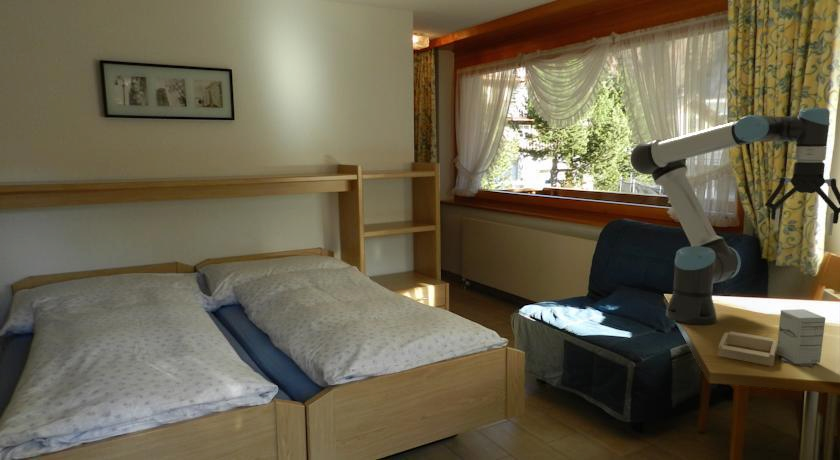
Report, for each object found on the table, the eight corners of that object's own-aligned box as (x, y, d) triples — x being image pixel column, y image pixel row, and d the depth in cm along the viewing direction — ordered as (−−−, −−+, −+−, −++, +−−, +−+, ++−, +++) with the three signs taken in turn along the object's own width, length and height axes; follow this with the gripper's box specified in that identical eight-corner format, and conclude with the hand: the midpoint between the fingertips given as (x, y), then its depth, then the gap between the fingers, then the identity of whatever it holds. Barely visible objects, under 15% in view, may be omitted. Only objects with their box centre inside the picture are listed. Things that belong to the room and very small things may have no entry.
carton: (716, 357, 154) (717, 347, 153) (725, 340, 167) (726, 330, 167) (772, 368, 146) (773, 357, 146) (776, 349, 160) (777, 339, 159)
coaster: (780, 361, 151) (781, 359, 151) (782, 353, 157) (782, 351, 157) (812, 367, 147) (813, 365, 147) (813, 359, 153) (813, 357, 153)
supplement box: (775, 353, 155) (779, 309, 153) (800, 353, 156) (805, 308, 154) (794, 364, 148) (799, 317, 146) (821, 363, 148) (826, 316, 146)
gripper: (759, 161, 172) (753, 229, 175) (862, 162, 157) (853, 238, 160) (762, 160, 178) (756, 227, 181) (862, 161, 163) (854, 234, 166)
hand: (802, 232), depth 171 cm, fingers open, 13 cm apart
